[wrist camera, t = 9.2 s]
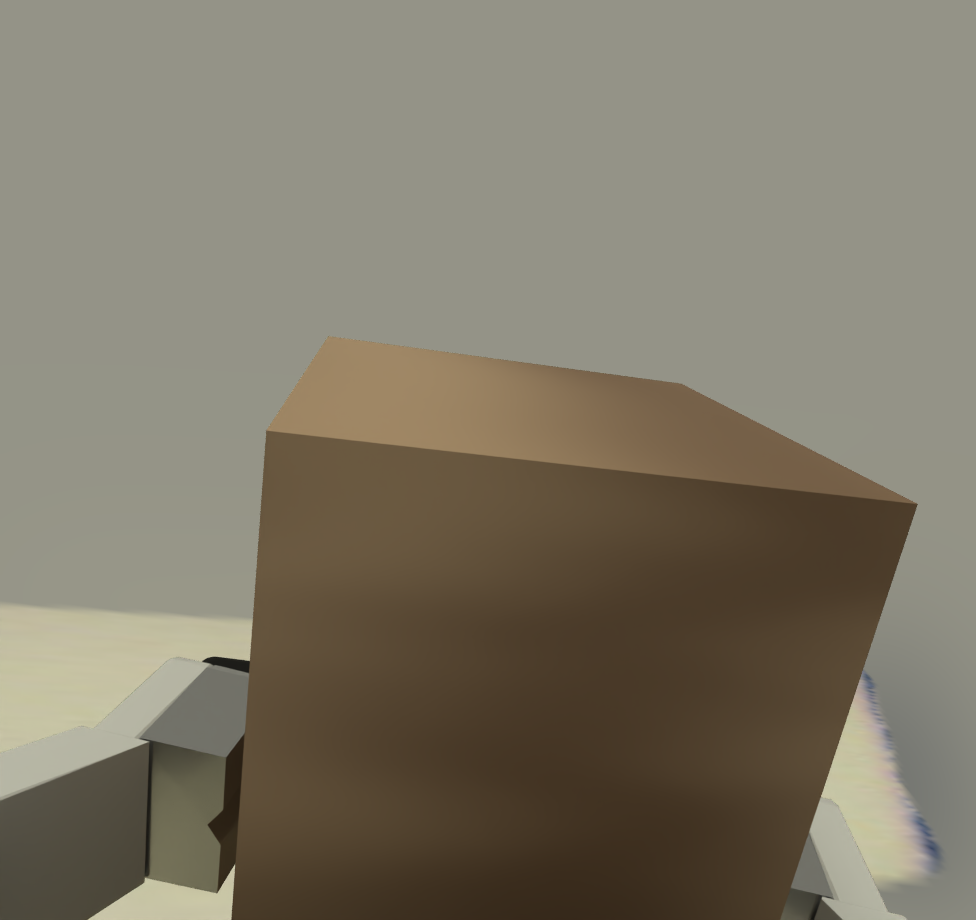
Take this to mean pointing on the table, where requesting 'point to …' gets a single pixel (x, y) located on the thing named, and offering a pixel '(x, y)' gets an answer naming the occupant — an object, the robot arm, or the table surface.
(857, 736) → the table surface
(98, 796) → the robot arm
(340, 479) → the walnut block
